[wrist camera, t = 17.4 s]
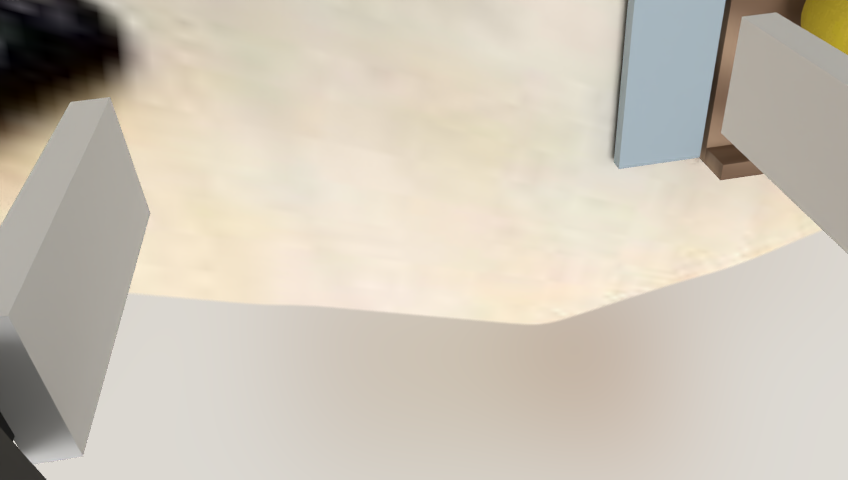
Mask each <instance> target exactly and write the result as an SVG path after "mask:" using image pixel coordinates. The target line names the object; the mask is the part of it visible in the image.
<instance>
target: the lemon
mask: <svg viewBox="0 0 848 480" xmlns="http://www.w3.org/2000/svg"><path fill="white" fill-rule="evenodd" d="M801 28H803V29H805V30H806V31H808V32H810V33H812V34H813V35H815V36H817V37H818V38H820V39H822V40H823V41H825V42H827V43H828V44H830V45H832V46H833V47H835V48H837V49H838V50H840V51H842V52H843V53H845V54H847V55H848V0H806V2H805V4H804V7H803V10H802V13H801Z"/></svg>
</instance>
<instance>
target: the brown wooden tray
mask: <svg viewBox="0 0 848 480" xmlns="http://www.w3.org/2000/svg"><path fill="white" fill-rule="evenodd" d="M805 2H806V0H726V1H725V8H724V14H723V20H722V26H721V32H720V38H719V44H718V50H717V56H716V62H715V68H714V74H713V80H712V86H711V92H710V98H709V104H708V110H707V116H706V123H705V129H704V135H703V141H702V147H701V153H700V157H699V158H700V159H701V160H702V161H703V162H704V163H705V164H706V165H707V166H708V167H709V168H710V170H711V171H712V172H713V173H714V174H715V175H716V176H717V177H718V178H719V179H720V180H725V179H732V178H739V177H745V176H752V175H759V174H763V173H762V172H761V171H760V170H759V169H758V168H757V167H756V166H755V165H754V164H753V163H752V162H751V161H750V160H749V159H748V158H747V157H746V156H745V155H744V154H742V153H741V152H740V151H739V150H738V149H737V148H736V147H735V146H734V145H733V144H732V143H731V142H730V141H729V140H728V139H727V138H726V137H725V136H724V135H723V134H721V130H722V124H723V119H724V113H725V108H726V102H727V97H728V91H729V86H730V80H731V74H732V69H733V63H734V58H735V52H736V47H737V41H738V36H739V30H740V25H741V19H742V17H743V16H751V15H759V14H767V13H775V12H776V13H778V14H780V15H781V16H783V17H785V18H786V19H788V20H790V21H791V22H793V23H795V24H796V25H798V26H800V27H801V13H802V10H803V7H804V4H805Z"/></svg>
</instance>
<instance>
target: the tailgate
mask: <svg viewBox="0 0 848 480" xmlns="http://www.w3.org/2000/svg"><path fill="white" fill-rule="evenodd" d="M725 1H726V0H628V8H627V19H626V30H625V42H624V53H623V64H622V75H621V87H620V98H619V109H618V121H617V132H616V143H615V155H614V163H615V164H616V166H617V167H618V168H619V169H622V168H629V167H636V166H643V165H650V164H657V163H664V162H671V161H678V160H685V159H692V158H699V157H700V153H701V147H702V141H703V135H704V129H705V123H706V116H707V110H708V104H709V98H710V92H711V86H712V80H713V74H714V68H715V62H716V56H717V50H718V44H719V38H720V32H721V26H722V20H723V14H724V8H725Z"/></svg>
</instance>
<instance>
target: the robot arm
mask: <svg viewBox="0 0 848 480" xmlns="http://www.w3.org/2000/svg"><path fill="white" fill-rule="evenodd" d="M721 134H723V135H724V136H725V137H726V138H727V139H728V140H729V141H730V142H731V143H732V144H733V145H734V146H735V147H736V148H737V149H738V150H739V151H740V152H741V153H742V154H744V155H745V156H746V157H747V158H748V159H749V160H750V161H751V162H752V163H753V164H754V165H755V166H756V167H757V168H758V169H759V170H760V171H761V172H762V173H763V174H765V175H766V176H767V177H768V178H769V179H770V180H771V181H772V182H773V183H774V184H775V185H776V186H777V187H778V188H779V189H780V190H781V191H782V192H783V193H784V194H785V195H787V196H788V197H789V198H790V199H791V200H792V201H793V202H794V203H795V204H796V205H797V206H798V207H799V208H800V209H801V210H802V211H803V212H804V213H805V214H806V215H808V216H809V217H810V218H811V219H812V220H813V221H814V222H815V223H816V224H817V225H818V226H819V227H820V228H821V229H822V230H823V231H824V232H825V233H826V234H827V235H829V236H830V237H831V238H832V239H833V240H834V241H835V242H836V243H837V244H838V245H839V246H840V247H841V248H842V249H843V250H844V251H845V252H846V253H847V254H848V55H847V54H845V53H843V52H842V51H840V50H838V49H837V48H835V47H833V46H832V45H830V44H828V43H827V42H825V41H823V40H822V39H820V38H818V37H817V36H815V35H813V34H812V33H810V32H808V31H806V30H805V29H803V28H801V27H800V26H798V25H796V24H795V23H793V22H791V21H790V20H788V19H786V18H785V17H783V16H781V15H780V14H778V13H776V12H775V13H767V14H759V15H751V16H743V17H742V19H741V25H740V30H739V36H738V41H737V47H736V52H735V58H734V63H733V69H732V74H731V80H730V86H729V91H728V97H727V102H726V108H725V113H724V119H723V124H722V130H721ZM149 216H150V211H149V208H148V205H147V202H146V199H145V197H144V194H143V191H142V188H141V185H140V182H139V179H138V176H137V173H136V170H135V168H134V165H133V162H132V159H131V156H130V153H129V150H128V147H127V144H126V142H125V139H124V136H123V133H122V130H121V127H120V124H119V121H118V118H117V115H116V113H115V110H114V107H113V104H112V101H111V98H110V97H107V98H100V99H92V100H84V101H76V102H70V104H69V106H68V108H67V109H66V111H65V113H64V115H63V116H62V118H61V120H60V122H59V123H58V125H57V127H56V129H55V131H54V132H53V134H52V136H51V138H50V139H49V141H48V143H47V145H46V146H45V148H44V150H43V152H42V154H41V155H40V157H39V159H38V161H37V162H36V164H35V166H34V168H33V169H32V171H31V173H30V175H29V177H28V178H27V180H26V182H25V184H24V185H23V187H22V189H21V191H20V192H19V194H18V196H17V198H16V200H15V201H14V203H13V205H12V207H11V208H10V210H9V212H8V214H7V216H6V217H5V219H4V221H3V223H2V224H1V226H0V480H46V479H45V478H44V476H43V475H42V474H41V473H40V472H39V471H38V470H37V469H36V467H35V466H34V464H40V463H46V462H52V461H58V460H64V459H71V458H77V457H82V456H83V454H84V450H85V447H86V443H87V439H88V436H89V432H90V429H91V425H92V421H93V418H94V414H95V410H96V407H97V403H98V400H99V396H100V392H101V389H102V385H103V381H104V378H105V375H106V371H107V367H108V364H109V360H110V356H111V353H112V349H113V346H114V342H115V338H116V335H117V331H118V328H119V324H120V320H121V317H122V313H123V310H124V306H125V302H126V299H127V295H128V291H129V288H130V284H131V281H132V277H133V273H134V270H135V266H136V263H137V259H138V255H139V252H140V248H141V244H142V241H143V237H144V234H145V230H146V226H147V223H148V219H149ZM13 440H14V441H15V443H16V444H17V446H18V447H17V446H16V445H15V444H14V443H13Z"/></svg>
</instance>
